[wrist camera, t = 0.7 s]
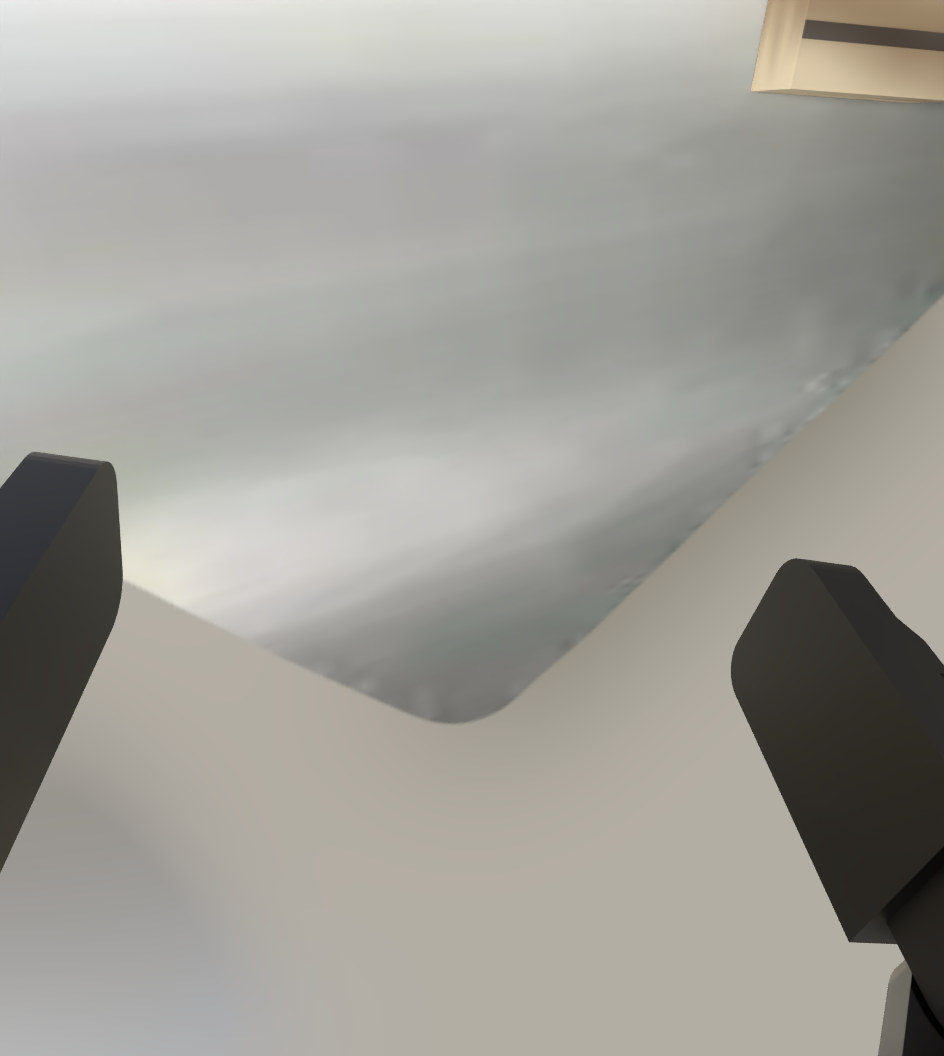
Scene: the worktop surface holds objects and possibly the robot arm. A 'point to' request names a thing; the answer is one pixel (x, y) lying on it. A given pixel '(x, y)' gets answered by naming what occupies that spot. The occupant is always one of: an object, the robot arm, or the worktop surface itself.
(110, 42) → the worktop surface
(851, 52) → the maple plank
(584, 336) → the worktop surface
